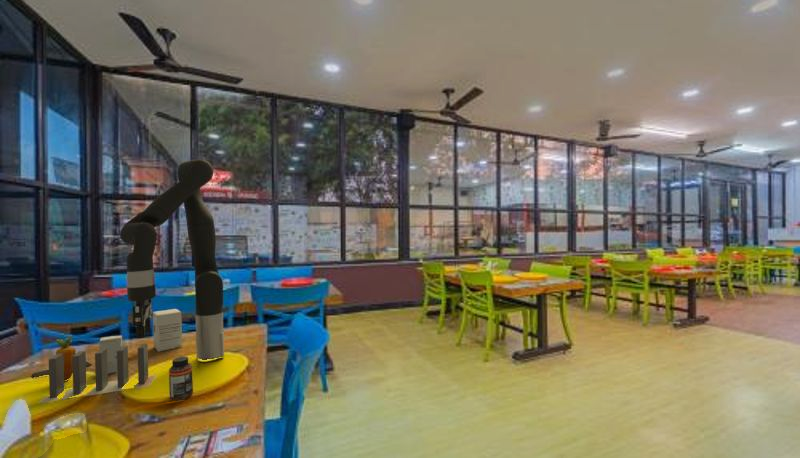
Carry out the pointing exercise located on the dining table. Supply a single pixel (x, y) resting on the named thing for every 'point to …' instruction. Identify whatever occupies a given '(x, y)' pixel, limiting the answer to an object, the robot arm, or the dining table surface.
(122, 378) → the domino
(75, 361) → the domino
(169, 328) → the supplement box
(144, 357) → the domino
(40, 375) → the phone
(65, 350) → the carrot
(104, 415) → the dining table surface
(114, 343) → the skincare box
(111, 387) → the domino mat
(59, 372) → the domino far
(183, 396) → the supplement bottle
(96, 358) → the domino
